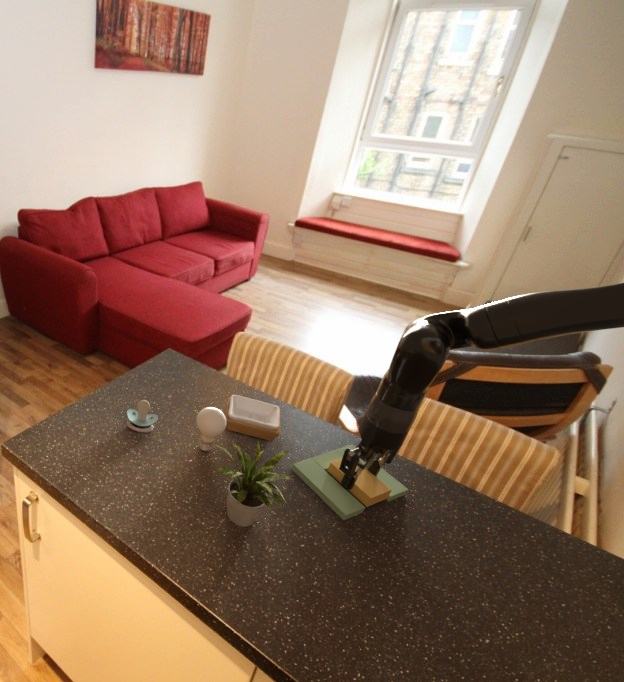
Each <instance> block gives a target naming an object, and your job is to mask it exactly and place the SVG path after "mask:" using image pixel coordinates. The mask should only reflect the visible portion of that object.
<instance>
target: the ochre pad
mask: <svg viewBox="0 0 624 682" xmlns="http://www.w3.org/2000/svg"><path fill="white" fill-rule="evenodd" d="M341 461H342V459H340V460H337V461H334V462H331V463H330V465H329V467H328V470H327V473H328V474H329V475H330V476H332V477H333V478H334V479H335V480H336V481H337V482H338V483H339V484H341V481H342V479H343V476H344V473H343V472H342V471H341V470H340V469H339V467H340V464H341ZM357 469H358V466H357V467H356V470H357ZM356 470H355V471H356ZM347 491H348V492H349V493H350V494H351V495H352V496H353V497H355V498H356V499H357V500H358V501H359V502H360V503H361V504H362V505H363V506H364V507H365V508H368V507H370V506H372V505H376V504H378V503H380V502H382V501H385V500H386V499H387V498H388V496H389V494H390V493H391V491H392V490H391V489H390V488H389V487H388V486H387V485H385V484H384V483H383V482H382V481H381V480H379V479H378V478H377V477H376V476H374V475H373V474H372V473H371V472H370V471H368V470H363V471H362V472H361V473H360V475H359V476H358V478H357V480H356V482H355V484H354V486H353V488H352V489H351V490H347Z"/></svg>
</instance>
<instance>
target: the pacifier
mask: <svg viewBox="0 0 624 682" xmlns="http://www.w3.org/2000/svg"><path fill="white" fill-rule="evenodd" d="M136 408H137V410H136V409H133V408H129V409H128V410H127V411H126V416H127V418H128V420H127V421H126V426H127V427H128V428H129V429H131V430H133V431H136V432H139V433H150V432H153V431H154V424H155V423H157V422H158V419H159V415H157V414H155V413H151V414H150V413H149V412H150V411H151V410H150V409H151V404H150V402H149V401H148V400H146V399H141V400H139V402H137V404H136ZM148 413H149V414H148ZM134 425H136V426H138V427H136V426H134ZM140 427H141V428H140ZM147 427H148V428H147Z"/></svg>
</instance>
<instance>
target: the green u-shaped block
mask: <svg viewBox="0 0 624 682" xmlns="http://www.w3.org/2000/svg"><path fill="white" fill-rule="evenodd" d="M347 448H350V449H351V450H355V449H356V448H357V446H355V445H354V444H349V445H346V446H344V447H339V448H337V449H334V450H330V451H327V452H325V453H322V454H318V455H316V456H313V457H310V458H307V459H304V460H301V461H297V462H295V463H293V464H292V465H291V467H290V469H291V470H292V471H293V472H294V473H295V474H296V476H298V477H299V478H300V479H301V480H302V481H303V482H304V483H305V485H307V486H308V487H309V488H310V489H311V490H312V491H313V492H314V493H315V495H317V497H319V498H320V499H321V500H322V501H323V502H324V503H325V504H326V505H327V506H328V507H329V508H330V509H331V510H332V511H333V512H334V513H335V514H336V515H338V516H339V518H340V519H341V520H342V521H346V520H349V519H350V518H352V517H355V516H358V515H360V514H362V513H364V511H365V509H366V506H365V505H364V504H363V503H362V502H361V501H359V500H358V499H357V498H356V497H355V496H354V495H353V494H352V493H351V492H349V491H348V490H347V489H346V488H345V487H344V486H343V485H342V484H341V483H340V482H338V481H337V480H336V479H335V478H334V477H333V476H332V475H331V474H330V473H329V472H327V470H328V467H329V465H330V463H331V462H334V461H337V460H340V459H342V458H343V455H344V452H345V450H346V449H347ZM359 460H360V462H362V463H363V464H365V463H366V462H364V461H363V460H362V459H360V458H359ZM376 477H377V478H378V479H379V480H381V481H382V482H383V483H384V484H385V485H387V486H388V487H389V488H390V489H391V490H392V491H391V493H390V494H389V496H388V498H387V499H385V500H386V501H387V502H388V503H389V502H391V501H393V500H396V499H398V498H401V497H403V496H405V495H407V493H408V491H409V489H408V488H407V487H406V486H405V485H404V484H402V483H401V482H400V481H398V480H397V479H396V478H395V477H393V476H392V475H391V474H390V473H389V472H387V471H386V470H385V469H384V468H380V470H379V472H378V474H377V476H376Z"/></svg>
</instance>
